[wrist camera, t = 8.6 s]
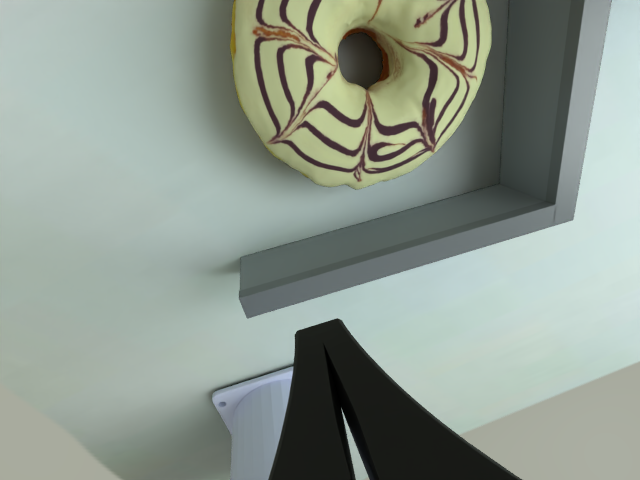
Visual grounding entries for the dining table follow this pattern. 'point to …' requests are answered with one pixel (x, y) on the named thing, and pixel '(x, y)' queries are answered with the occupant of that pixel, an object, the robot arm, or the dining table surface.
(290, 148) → the decorated donut
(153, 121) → the dining table surface
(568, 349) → the dining table surface
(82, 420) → the dining table surface
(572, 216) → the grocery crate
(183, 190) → the dining table surface
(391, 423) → the robot arm
